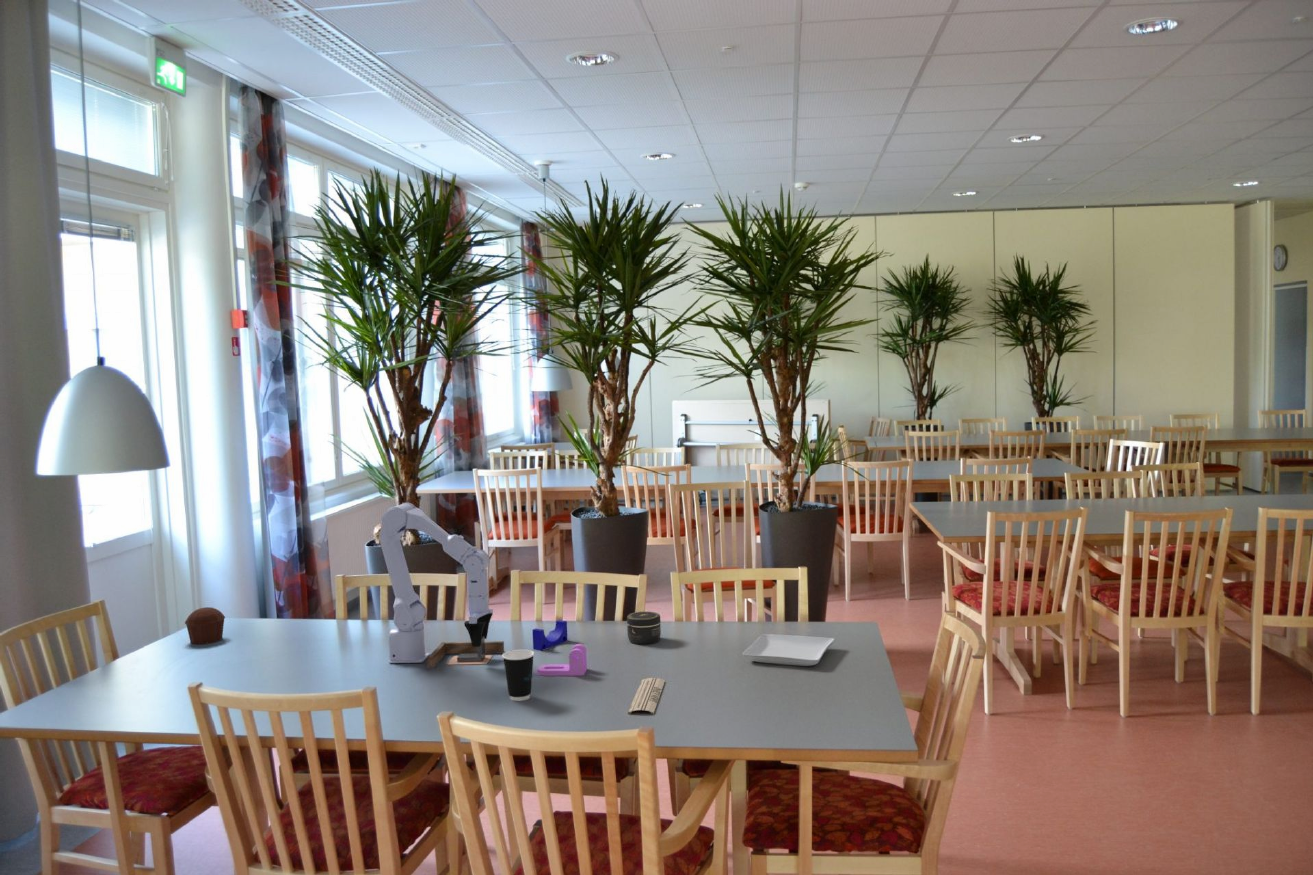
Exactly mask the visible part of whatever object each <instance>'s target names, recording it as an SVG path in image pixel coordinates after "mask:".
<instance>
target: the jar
mask: <svg viewBox="0 0 1313 875" xmlns="http://www.w3.org/2000/svg"><path fill="white" fill-rule="evenodd" d="M661 623H662V621H661V615H660V613H657V612H654V611H635V612H632V613H629V614H628V615H627V616H626V628H627V638H628V640H629V642H630V643H631V644H634V645H642V646H643V645H645V646H646V645H652V644H656V643H658V642H659V641H660V639H661V634H662V631H661V630H662V629H661V628H662V627H661Z"/></svg>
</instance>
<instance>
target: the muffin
mask: <svg viewBox="0 0 1313 875" xmlns="http://www.w3.org/2000/svg"><path fill="white" fill-rule="evenodd" d="M225 619H226V616H225V615H224V614H223V612H221V611H220V610H219V609H217V608H215V607H200V608H198V609H195V610H193V611H192V612H191V613H189V615H188V617H187V618H186V620H185V621H184V624H185V625H186V628H187V633H188V637H189V641H190V643H191V644H193V645H206V644H213V643H216V642H219V641H221V640H222V639H223V635H224V633H223V631H224V625H225V624H224V623H225Z"/></svg>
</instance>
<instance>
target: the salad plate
mask: <svg viewBox="0 0 1313 875" xmlns="http://www.w3.org/2000/svg"><path fill="white" fill-rule="evenodd" d="M834 641H835V638H834V637H823V636H822V637H821V636H810V635H809V636H808V635H796V634H795V635H794V634H793V635H791V634H772V633H771V634H770V633H763V634H761V635H760V636H759V637H758V638H756V639H755V641H753V643H752V644H750V646H748V647H747V648H746V649H745V650H743V652H742V656H743V657H744V658H746V659H747V660H749V661H752V662H757V663H761V664H762V663H763V664H775V665H785V666H796V667H797V666H799V667H809V666H810V667H811V666H814V665H817V664H818V663H820V661H821V659H822V657H823V655H824V653H826V651H828V649H829V648H830V647H831V646H832V645H833V644H834Z"/></svg>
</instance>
